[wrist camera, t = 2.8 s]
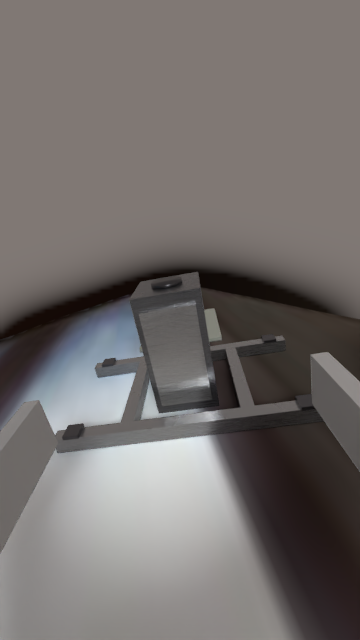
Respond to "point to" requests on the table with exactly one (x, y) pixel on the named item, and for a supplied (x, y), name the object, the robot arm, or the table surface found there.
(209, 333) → the pad
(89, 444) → the rail frame
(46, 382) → the table surface
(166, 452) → the table surface
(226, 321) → the table surface
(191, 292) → the tall box with knob
